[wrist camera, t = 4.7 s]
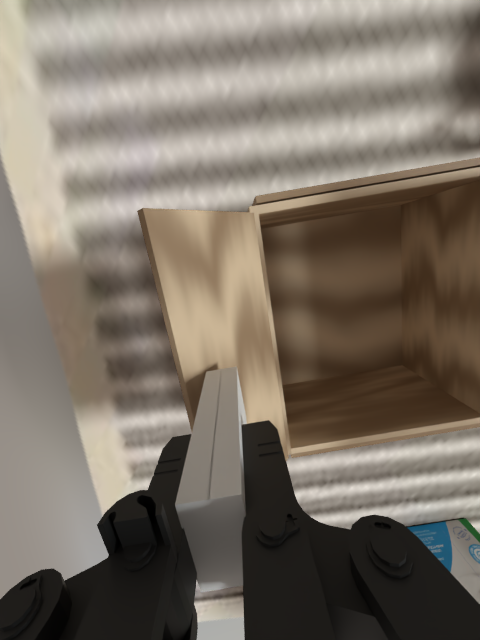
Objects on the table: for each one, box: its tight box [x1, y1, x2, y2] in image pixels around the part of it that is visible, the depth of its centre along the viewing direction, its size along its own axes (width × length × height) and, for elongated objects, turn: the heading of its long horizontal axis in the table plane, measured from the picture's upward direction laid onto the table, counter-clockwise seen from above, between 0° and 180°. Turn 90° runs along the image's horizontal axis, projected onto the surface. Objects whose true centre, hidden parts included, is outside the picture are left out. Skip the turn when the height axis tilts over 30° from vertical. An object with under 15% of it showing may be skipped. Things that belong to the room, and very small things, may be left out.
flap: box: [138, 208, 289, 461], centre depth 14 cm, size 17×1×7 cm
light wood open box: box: [248, 158, 480, 458], centre depth 22 cm, size 19×16×10 cm
